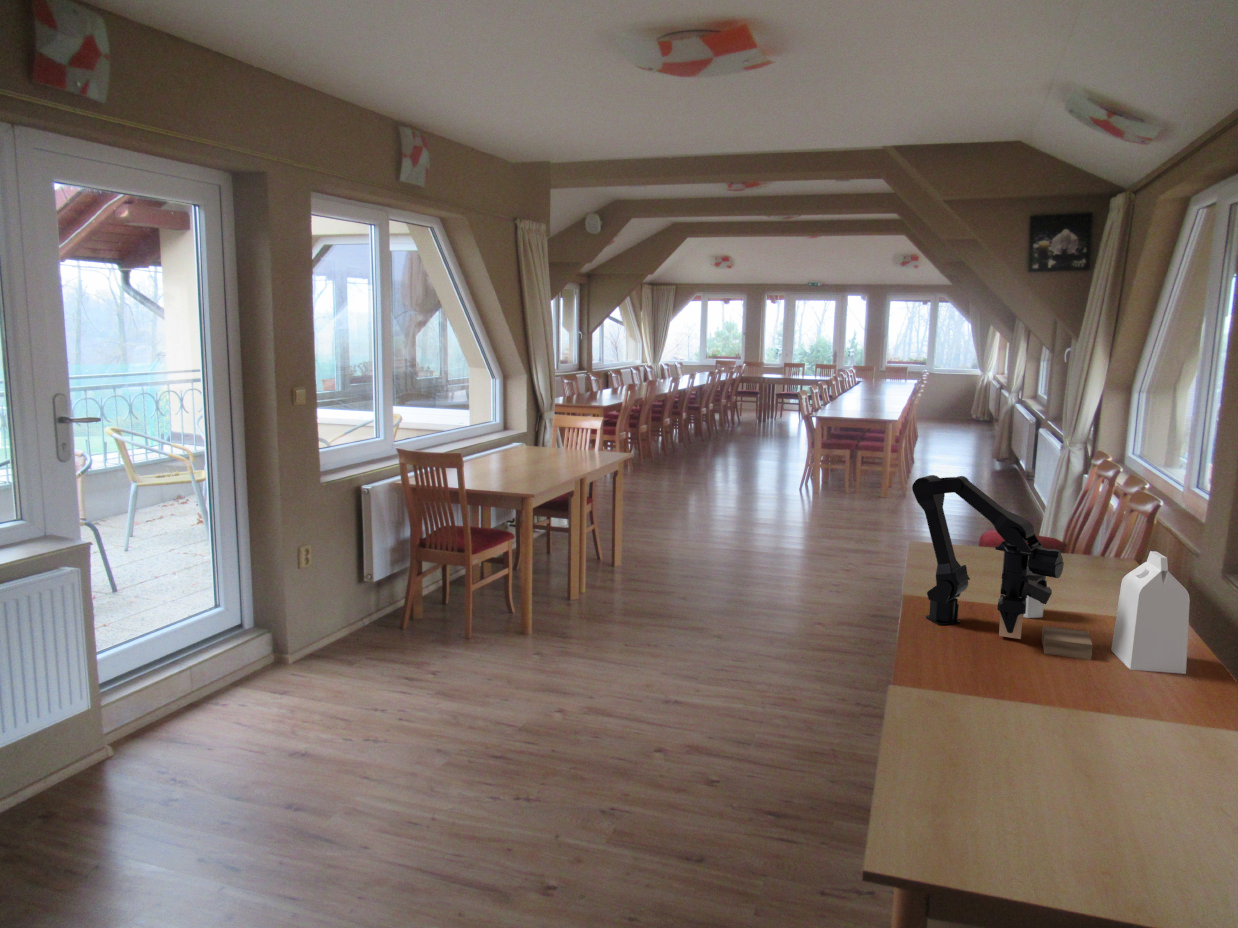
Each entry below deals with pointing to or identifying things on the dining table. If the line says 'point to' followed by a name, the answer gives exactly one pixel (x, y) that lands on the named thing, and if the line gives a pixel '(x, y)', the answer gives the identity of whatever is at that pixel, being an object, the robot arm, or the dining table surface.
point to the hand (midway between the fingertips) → (1010, 629)
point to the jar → (1034, 600)
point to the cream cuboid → (1016, 630)
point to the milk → (1152, 619)
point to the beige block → (1066, 642)
